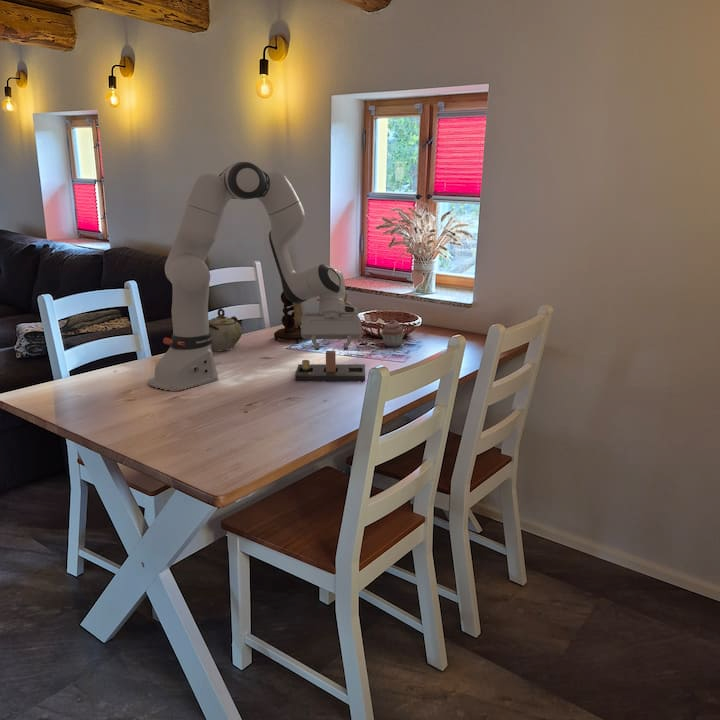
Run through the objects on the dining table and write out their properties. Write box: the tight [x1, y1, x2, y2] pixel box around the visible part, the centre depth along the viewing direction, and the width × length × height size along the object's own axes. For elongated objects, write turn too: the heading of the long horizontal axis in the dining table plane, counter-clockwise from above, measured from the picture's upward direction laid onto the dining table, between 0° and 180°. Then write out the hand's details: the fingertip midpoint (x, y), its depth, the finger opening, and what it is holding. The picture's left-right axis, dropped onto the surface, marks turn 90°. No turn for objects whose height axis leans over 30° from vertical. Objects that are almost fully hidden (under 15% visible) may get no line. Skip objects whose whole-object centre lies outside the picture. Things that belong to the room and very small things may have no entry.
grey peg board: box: [294, 359, 366, 383], centre depth 199 cm, size 22×12×5 cm, turn 90°
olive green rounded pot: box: [209, 308, 243, 351], centre depth 230 cm, size 20×15×15 cm
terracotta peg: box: [325, 350, 337, 372], centre depth 199 cm, size 3×3×8 cm
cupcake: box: [380, 319, 405, 348], centre depth 235 cm, size 9×9×10 cm
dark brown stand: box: [273, 291, 304, 344], centre depth 242 cm, size 15×15×20 cm
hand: (331, 349), depth 202 cm, fingers open, 8 cm apart
